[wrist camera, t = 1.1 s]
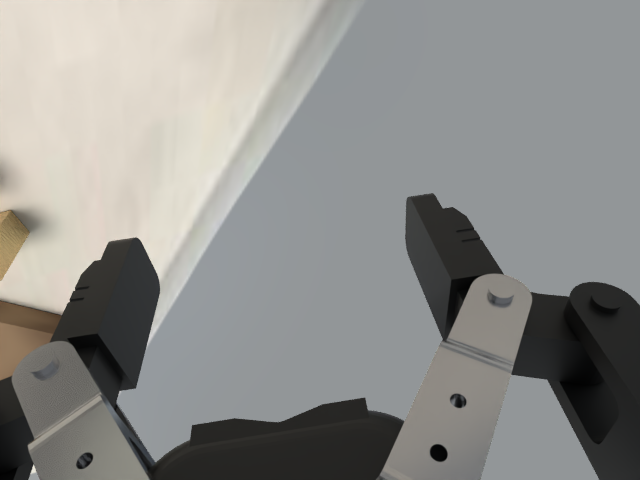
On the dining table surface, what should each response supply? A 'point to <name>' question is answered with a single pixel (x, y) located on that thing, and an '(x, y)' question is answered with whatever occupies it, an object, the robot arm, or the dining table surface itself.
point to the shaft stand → (22, 334)
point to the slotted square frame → (10, 239)
